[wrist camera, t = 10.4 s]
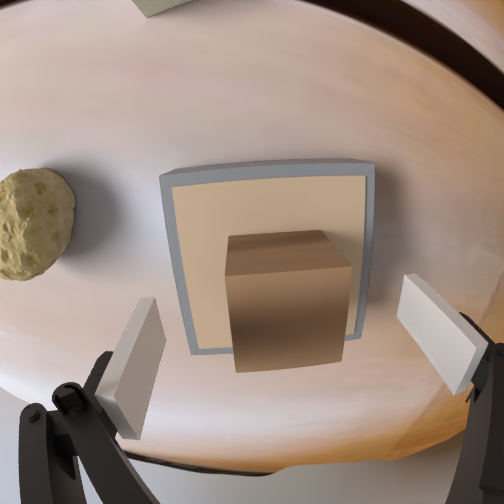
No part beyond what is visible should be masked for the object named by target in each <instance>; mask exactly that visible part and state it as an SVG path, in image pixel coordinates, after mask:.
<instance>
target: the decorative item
mask: <svg viewBox="0 0 504 504" xmlns="http://www.w3.org/2000/svg"><path fill="white" fill-rule="evenodd" d="M73 207H75V198H74V194H73V193H72V191H71V189H70V187H69V186H68V184H67V183H66V182H65V181H64V179H63V178H62V177H60V176H59V175H57V174H56V173H54V172H53V171H51V170H50V169H48V168H42V169H25V170H21V169H20V170H19V171H17V172H15V173H13V174H10V175H9V176H8V177H6V178H5V179H4V180H3V181H1V183H0V277H1V278H3V279H9V280H18V281H22V280H23V281H26V280H30V279H32V278H34V277H35V276H38V275H41V274H43V273H44V272H45V271H46V270H47V269H48V268H50V267H51V266H52V265H53V264H54V263H55V261H56V260H57V259H58V258H59V256H60V255H61V254H62V253H63V252H64V250H65V249H66V247H67V245H68V243H69V242H70V241H71V232H72V231H71V230H72V227H73V223H74V210H73Z"/></svg>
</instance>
